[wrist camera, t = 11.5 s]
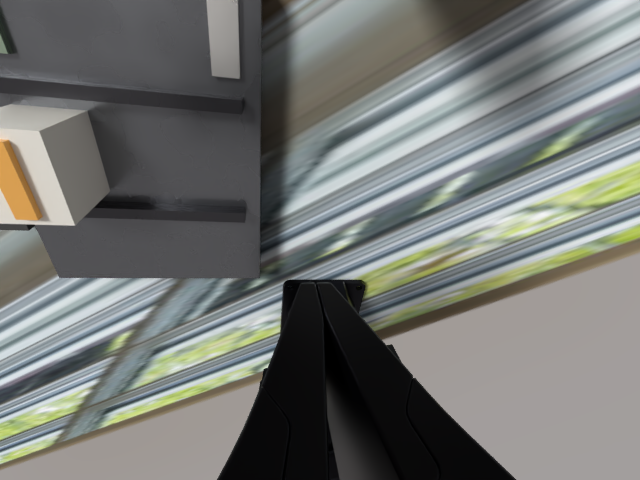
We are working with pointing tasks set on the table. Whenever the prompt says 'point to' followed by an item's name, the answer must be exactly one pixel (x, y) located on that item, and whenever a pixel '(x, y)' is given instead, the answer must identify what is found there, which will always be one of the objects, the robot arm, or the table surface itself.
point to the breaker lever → (48, 166)
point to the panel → (151, 128)
